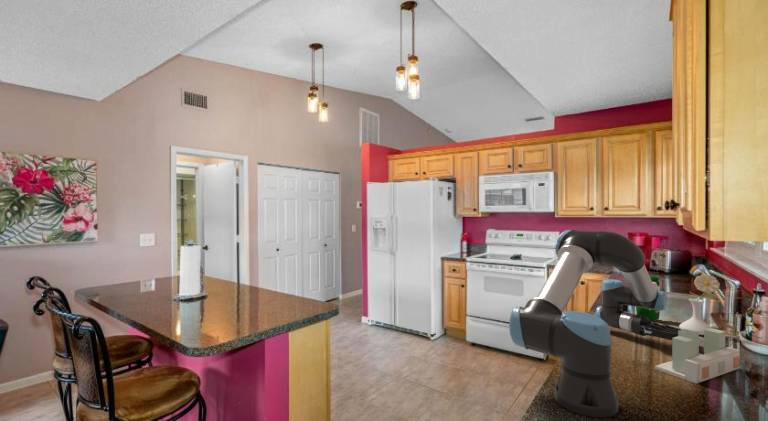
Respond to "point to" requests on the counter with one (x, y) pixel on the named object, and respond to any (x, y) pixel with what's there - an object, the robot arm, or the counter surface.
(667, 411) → the counter surface
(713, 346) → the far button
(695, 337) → the middle button
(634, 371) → the counter surface
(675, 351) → the pale green tall block
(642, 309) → the milk carton
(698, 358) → the button panel
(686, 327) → the flower in vase
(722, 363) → the pattern card
